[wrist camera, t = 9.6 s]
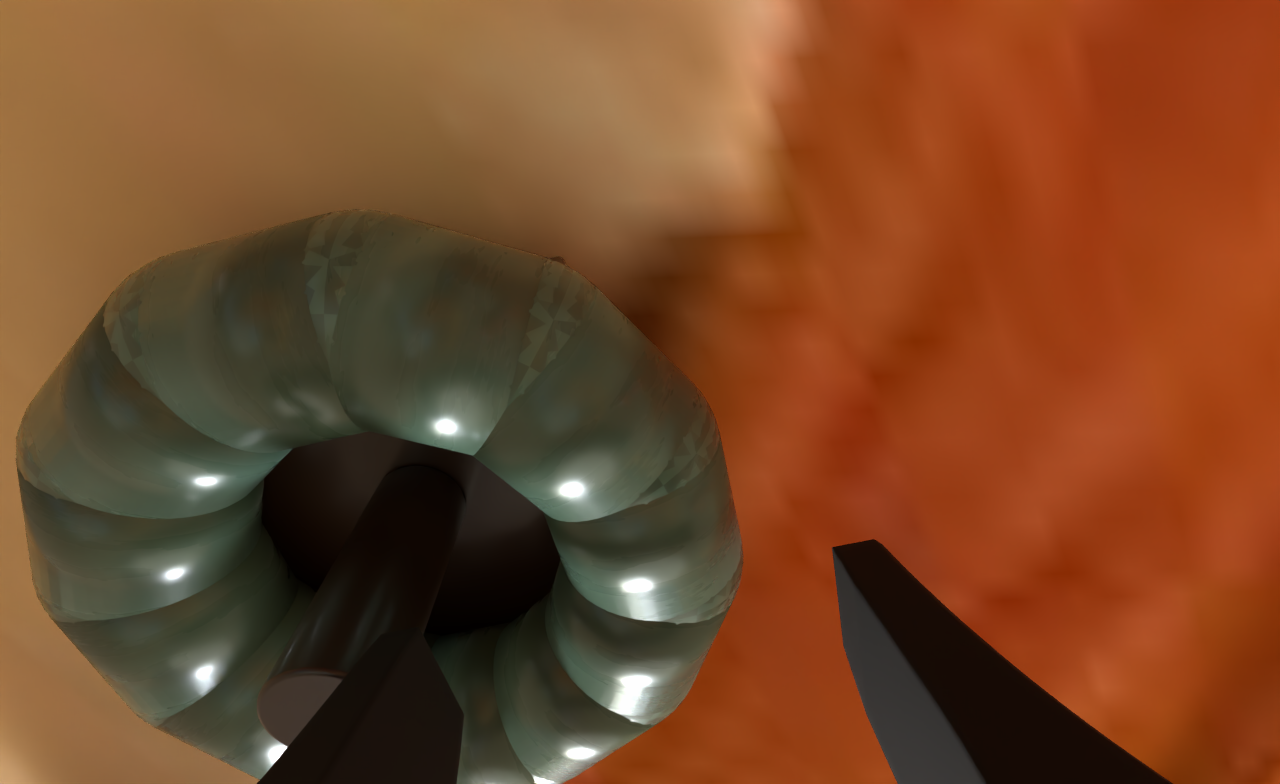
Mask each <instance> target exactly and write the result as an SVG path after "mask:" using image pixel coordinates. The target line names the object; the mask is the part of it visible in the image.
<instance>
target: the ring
mask: <svg viewBox="0 0 1280 784" xmlns="http://www.w3.org/2000/svg"><path fill="white" fill-rule="evenodd" d="M368 431H370V432H374V433H379V434H383V435H387V436H391V437H396V438H400V439H404V440H409V441H413V442H417V443H422V444H426V445H430V446H434V447H439V448H443V449H447V450H452V451H456V452H460V453H464V454H469V455H472V456H473V457H475V458H476V459H477V460H478V461H480V462H481V463H482V464H484V465H485V466H486V467H487V468H489V469H490V470H491V471H492V472H494V473H495V474H496V475H497V476H499V477H500V478H501V479H503V480H504V481H505V482H506V483H508V484H509V485H510V486H511V487H513V488H514V489H515V490H516V491H518V492H519V493H520V494H521V495H523V496H524V497H525V498H527V499H528V500H529V501H530V502H532V503H533V504H534V505H535V506H537V507H538V508H539V509H540V510H542V511H543V513H544V516H545V518H546V521H547V524H548V526H549V529H550V532H551V534H552V537H553V540H554V542H555V545H556V548H557V551H558V553H559V556H560V559H561V560H560V563H559V566H558V570H557V573H556V576H555V579H554V582H553V585H552V589H551V592H550V593H548V594H547V595H546V596H544V597H543V598H542V599H541V600H539V601H538V602H537V603H535V604H534V605H533V606H532V607H530V608H529V609H528V610H526V611H525V612H524V613H522V614H521V615H520V616H519V617H517V618H516V619H515V620H513V621H512V622H509V623H504V624H499V625H494V626H489V627H484V628H479V629H474V630H468V631H463V632H458V633H453V634H448V635H443V636H442V635H437V634H432V633H426V632H424V634H423V636H424V638H425V640H426V642H427V644H428V646H429V647H430V649H431V651H432V653H433V655H434V657H435V659H436V661H437V663H438V665H439V667H440V669H441V671H442V673H443V674H444V676H445V678H446V680H447V682H448V684H449V686H450V688H451V690H452V692H453V694H454V696H455V698H456V700H457V701H458V703H459V705H460V707H461V709H462V711H463V713H464V723H463V733H462V743H461V753H460V760H459V768H458V776H457V784H562V783H564V782H565V781H567V780H570V779H572V778H574V777H575V776H577V775H579V774H580V773H582V772H583V771H585V770H586V769H588V768H590V767H591V766H593V765H594V764H596V763H597V762H599V761H600V760H602V759H603V758H605V757H607V756H608V755H610V754H611V753H613V752H614V751H616V750H617V749H619V748H620V747H622V746H624V745H625V744H627V743H628V742H630V741H631V740H633V739H634V738H636V737H638V736H639V735H641V734H642V733H644V732H645V731H647V730H648V729H650V728H651V727H653V726H655V725H656V724H658V723H659V722H661V721H662V720H663V719H665V718H666V717H667V716H668V715H670V714H671V713H672V712H673V711H674V710H675V709H676V708H677V707H678V706H679V705H680V704H681V702H682V701H683V699H684V698H685V697H686V695H687V694H688V692H689V690H690V689H691V687H692V685H693V682H694V680H695V678H696V676H697V674H698V672H699V670H700V668H701V666H702V664H703V662H704V660H705V658H706V655H707V653H708V651H709V649H710V647H711V645H712V643H713V641H714V639H715V637H716V635H717V633H718V631H719V628H720V626H721V624H722V622H723V620H724V618H725V616H726V614H727V612H728V610H729V608H730V606H731V604H732V601H733V599H734V597H735V595H736V592H737V590H738V588H739V583H740V580H741V574H742V567H743V550H742V540H741V535H740V530H739V525H738V520H737V515H736V511H735V506H734V501H733V496H732V491H731V486H730V482H729V477H728V472H727V467H726V462H725V457H724V452H723V448H722V443H721V438H720V433H719V429H718V426H717V422H716V419H715V417H714V414H713V412H712V410H711V408H710V406H709V404H708V403H707V401H706V399H705V397H704V396H703V394H702V393H701V391H700V390H699V389H698V388H697V387H696V386H695V385H694V383H692V381H691V380H690V379H689V378H688V377H687V376H686V375H685V374H684V373H683V372H682V371H681V370H680V369H679V368H677V367H676V366H675V365H674V364H673V363H672V362H671V361H670V360H669V359H668V358H667V357H666V356H665V355H664V354H663V353H662V352H661V351H660V350H659V349H658V348H657V347H656V346H655V345H654V344H653V343H652V342H651V341H650V340H649V339H648V338H647V337H646V336H645V335H644V334H643V333H642V332H641V331H640V330H639V329H638V328H637V327H636V326H635V325H634V324H633V323H632V322H631V321H630V320H629V319H628V318H627V317H626V316H625V315H624V314H623V313H622V312H621V311H620V310H619V309H618V308H617V307H616V306H615V305H614V304H613V303H612V302H611V301H610V300H609V299H608V298H607V297H606V296H605V295H604V294H603V293H602V292H601V291H600V290H599V289H598V288H597V287H596V286H595V285H593V284H592V283H591V282H590V281H588V280H587V279H586V278H585V277H584V276H582V275H581V274H580V273H578V272H576V271H574V270H573V269H571V268H570V267H568V266H566V265H563V264H561V263H559V262H557V261H553V260H550V259H548V258H546V257H542V256H539V255H535V254H532V253H528V252H525V251H521V250H518V249H514V248H511V247H507V246H504V245H500V244H497V243H493V242H490V241H486V240H483V239H479V238H476V237H472V236H468V235H465V234H461V233H458V232H454V231H451V230H447V229H444V228H440V227H437V226H433V225H430V224H426V223H423V222H419V221H416V220H412V219H409V218H405V217H402V216H398V215H395V214H389V213H384V212H380V211H373V210H356V209H355V210H344V211H340V212H334V213H328V214H324V215H320V216H316V217H312V218H308V219H304V220H300V221H296V222H292V223H288V224H284V225H280V226H276V227H272V228H268V229H264V230H260V231H256V232H253V233H249V234H245V235H241V236H237V237H233V238H229V239H225V240H221V241H217V242H213V243H209V244H205V245H201V246H197V247H193V248H189V249H185V250H182V251H178V252H175V253H172V254H169V255H166V256H163V257H159V258H158V259H156V260H153V261H152V262H150V263H148V264H147V265H145V266H143V267H142V268H140V269H139V270H137V271H136V272H134V273H132V274H131V275H129V276H128V277H127V278H126V279H125V280H124V281H123V282H122V283H121V284H120V285H119V286H118V287H117V288H116V290H115V291H113V293H112V294H111V295H110V297H109V298H108V299H107V301H106V302H105V303H104V305H103V306H102V307H101V309H100V310H99V311H98V313H97V314H96V315H95V317H94V318H93V319H92V321H91V322H90V323H89V325H88V326H87V327H86V329H85V330H84V331H83V333H82V334H81V335H80V337H79V338H78V339H77V341H76V342H75V343H74V345H73V346H72V347H71V349H70V350H69V351H68V353H67V354H66V355H65V357H64V358H63V359H62V361H61V362H60V364H59V365H58V366H57V368H56V369H55V370H54V372H53V373H52V374H51V376H50V377H49V378H48V380H47V381H46V382H45V384H44V385H43V386H42V388H41V389H40V390H39V392H38V393H37V394H36V396H35V397H34V399H33V400H32V401H31V403H30V405H29V406H28V408H27V409H26V412H25V414H24V416H23V418H22V421H21V424H20V427H19V430H18V433H17V437H16V465H17V472H18V479H19V486H20V493H21V501H22V508H23V515H24V522H25V530H26V537H27V544H28V551H29V559H30V566H31V573H32V580H33V585H34V587H35V590H36V594H37V597H38V599H39V601H40V602H41V604H42V606H43V608H44V610H45V611H46V612H47V613H48V615H49V617H50V618H51V619H52V620H53V621H54V622H55V623H56V625H57V626H58V627H59V628H60V629H61V630H62V631H63V633H64V634H65V635H66V636H67V637H68V638H69V639H70V641H71V642H72V643H73V644H74V645H75V646H76V647H77V649H78V650H79V651H80V652H81V653H82V654H83V655H84V657H85V658H86V659H87V660H88V661H89V662H90V663H91V665H92V666H93V667H94V668H95V669H96V670H97V671H98V673H99V674H100V675H101V676H102V677H103V678H104V679H105V681H106V682H107V683H108V684H109V685H110V686H111V687H112V688H113V690H114V691H115V692H116V693H117V694H118V695H119V696H120V698H121V699H122V700H123V701H124V702H125V703H126V704H127V706H128V707H129V708H130V709H131V710H132V711H133V712H134V713H135V714H136V715H137V716H138V717H139V718H141V719H142V720H143V721H145V722H146V723H148V724H150V725H151V726H153V727H154V728H156V729H158V730H160V731H162V732H164V733H166V734H169V735H171V736H173V737H175V738H177V739H179V740H181V741H183V742H185V743H187V744H189V745H191V746H193V747H195V748H197V749H199V750H201V751H203V752H205V753H207V754H209V755H211V756H213V757H215V758H217V759H219V760H221V761H223V762H225V763H227V764H229V765H231V766H233V767H235V768H237V769H239V770H241V771H243V772H245V773H247V774H249V775H251V776H253V777H255V778H257V779H259V780H260V779H261V778H262V777H263V776H264V775H265V774H266V773H267V771H268V770H269V769H270V768H271V767H272V766H273V764H274V763H275V762H276V761H277V759H278V758H279V757H280V756H281V755H282V753H283V752H284V751H285V750H286V749H287V746H285V745H283V744H282V743H280V742H279V741H277V740H276V739H275V738H273V737H272V736H271V735H270V734H269V733H268V732H267V731H266V729H265V728H264V727H263V725H262V724H261V722H260V720H259V717H258V714H257V698H258V694H259V692H260V690H261V688H262V686H263V684H264V683H265V681H266V679H267V677H268V676H269V674H270V672H271V670H272V669H273V667H274V665H275V664H276V662H277V660H278V658H279V657H280V655H281V653H282V651H283V650H284V648H285V646H286V645H287V643H288V641H289V639H290V638H291V636H292V634H293V632H294V631H295V629H296V627H297V625H298V624H299V622H300V620H301V619H302V617H303V615H304V613H305V612H306V610H307V608H308V606H309V605H310V603H311V601H312V600H313V598H314V596H315V594H316V593H317V591H316V590H314V589H313V588H311V587H310V586H308V585H306V584H305V583H303V582H302V581H300V580H298V579H297V578H296V577H295V575H294V574H293V572H292V571H291V569H290V567H289V566H288V564H287V563H286V561H285V559H284V558H283V556H282V554H281V553H280V551H279V550H278V548H277V546H276V545H275V543H274V542H273V540H272V538H271V537H270V535H269V534H268V532H267V530H266V529H265V527H264V525H263V524H262V508H263V491H264V478H265V477H266V476H267V475H268V474H269V473H270V472H271V471H272V470H273V469H274V467H275V466H276V465H277V464H278V463H279V462H280V461H281V460H282V459H283V458H284V457H285V456H286V455H287V454H288V453H289V452H290V451H291V450H292V449H293V448H296V447H301V446H305V445H310V444H314V443H319V442H323V441H328V440H332V439H336V438H341V437H345V436H350V435H354V434H359V433H363V432H368Z"/></svg>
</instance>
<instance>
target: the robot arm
mask: <svg viewBox="0 0 1280 784" xmlns="http://www.w3.org/2000/svg"><path fill="white" fill-rule="evenodd" d="M832 551H833V559H834V568H835V576H836V585H837V594H838V602H839V611H840V619H841V628H842V637H843V645H844V649H845V652H846V655H847V658H848V661H849V664H850V667H851V670H852V673H853V676H854V679H855V682H856V685H857V688H858V691H859V694H860V696H861V699H862V702H863V705H864V708H865V711H866V714H867V716H868V719H869V721H870V723H871V725H872V728H873V730H874V732H875V734H876V737H877V739H878V741H879V743H880V745H881V748H882V750H883V752H884V754H885V757H886V759H887V761H888V763H889V765H890V768H891V770H892V772H893V774H894V776H895V779H896V781H897V783H898V784H1173V783H1171V782H1170V781H1168V780H1167V779H1165V778H1164V777H1162V776H1161V775H1159V774H1158V773H1156V772H1155V771H1154V770H1152V769H1151V768H1149V767H1148V766H1146V765H1145V764H1144V763H1142V762H1141V761H1139V760H1138V759H1136V758H1135V757H1134V756H1132V755H1131V754H1129V753H1128V752H1126V751H1125V750H1124V749H1122V748H1121V747H1119V746H1118V745H1117V744H1115V743H1114V742H1112V741H1111V740H1110V739H1108V738H1107V737H1105V736H1104V735H1103V734H1101V733H1100V732H1099V731H1097V730H1096V729H1095V728H1093V727H1092V726H1090V725H1089V724H1088V723H1086V722H1085V721H1084V720H1082V719H1081V718H1080V717H1079V716H1077V715H1076V714H1075V713H1073V712H1072V711H1071V710H1069V709H1068V708H1067V707H1065V706H1064V705H1063V704H1061V703H1060V702H1059V701H1058V700H1056V699H1055V698H1054V697H1053V696H1051V695H1050V694H1049V693H1047V692H1046V691H1045V690H1044V689H1042V688H1041V687H1040V686H1039V685H1037V684H1036V683H1035V682H1033V681H1032V680H1031V679H1030V678H1028V677H1027V676H1026V675H1025V674H1023V673H1022V672H1021V671H1020V670H1019V669H1017V668H1016V667H1015V666H1014V665H1013V664H1011V663H1010V662H1009V661H1008V660H1006V659H1005V658H1004V657H1003V656H1002V655H1000V654H999V653H998V652H997V651H996V650H995V649H993V648H992V647H991V646H990V645H989V644H988V643H987V642H985V641H984V640H983V639H982V638H981V637H980V636H978V635H977V634H976V633H975V632H974V631H973V630H971V629H970V628H969V627H968V626H967V625H966V624H965V623H963V622H962V621H961V620H960V619H959V618H958V617H957V616H956V615H954V614H953V613H952V612H951V611H950V610H949V609H948V608H947V607H946V606H945V605H943V604H942V603H941V602H940V601H939V600H938V599H937V598H936V597H935V596H934V595H933V594H932V593H931V592H930V591H928V590H927V589H926V588H925V587H924V586H923V585H922V584H921V583H920V582H919V581H918V580H917V579H916V578H915V577H914V576H913V575H912V574H911V573H910V572H909V571H908V570H907V569H906V568H905V567H904V566H903V565H902V564H901V563H900V562H899V561H898V560H897V559H896V558H895V557H894V556H893V555H892V554H891V553H890V552H889V551H888V550H887V549H886V548H885V547H884V546H883V545H882V544H881V543H879V542H878V541H876V540H874V539H873V540H868V541H863V542H857V543H852V544H847V545H842V546H837V547H832ZM463 723H464V713H463V711H462V709H461V707H460V705H459V703H458V701H457V700H456V698H455V696H454V694H453V692H452V690H451V688H450V686H449V684H448V682H447V680H446V678H445V676H444V674H443V673H442V671H441V669H440V667H439V665H438V663H437V661H436V659H435V657H434V655H433V653H432V651H431V649H430V647H429V646H428V644H427V642H426V640H425V638H424V636H423V634H422V632H421V630H420V628H419V627H415V628H410V629H405V630H400V631H395V632H389V633H384V634H381V635H380V636H379V637H378V638H377V640H376V641H375V642H374V643H373V644H372V645H371V646H370V648H369V649H368V650H367V651H366V652H365V653H364V655H363V656H362V657H361V658H360V659H359V661H358V662H357V663H356V664H355V666H354V667H353V668H352V669H351V670H350V672H349V673H348V674H347V675H346V677H345V678H344V679H343V680H342V681H341V683H340V684H339V685H338V686H337V688H336V689H335V690H334V691H333V693H332V694H331V695H330V696H329V697H328V699H327V700H326V701H325V702H324V704H323V705H322V706H321V707H320V709H319V710H318V711H317V712H316V713H315V715H314V716H313V717H312V718H311V720H310V721H309V722H308V723H307V724H306V726H305V727H304V728H303V729H302V730H301V732H300V733H299V734H298V735H297V736H296V738H295V739H294V740H293V741H292V743H291V744H290V745H289V746H288V747H287V749H286V750H285V751H284V752H283V753H282V755H281V756H280V757H279V758H278V759H277V761H276V762H275V763H274V764H273V766H272V767H271V768H270V769H269V770H268V771H267V773H266V774H265V775H264V776H263V777H262V778H261V779H260V781H259V782H258V783H257V784H457V776H458V768H459V760H460V753H461V743H462V733H463Z"/></svg>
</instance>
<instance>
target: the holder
mask: <svg viewBox="0 0 1280 784" xmlns="http://www.w3.org/2000/svg"><path fill="white" fill-rule="evenodd" d="M550 260H553V261H557V262H559V263H561V264H563V265H565V261H564V259H563V258H562V257H554V258H550ZM262 524H263V525H264V527H265V529H266V530H267V532H268V534H269V535H270V537H271V538H272V540H273V542H274V543H275V545H276V546H277V548H278V550H279V551H280V553H281V554H282V556H283V558H284V559H285V561H286V563H287V564H288V566H289V567H290V569H291V571H292V572H293V574H294V575H295V577H296V578H297V579H298V580H300V581H302V582H303V583H305V584H306V585H308V586H310V587H311V588H313V589H314V590H316V591H317V593H316V594H315V596H314V598H313V600H312V601H311V603H310V605H309V606H308V608H307V610H306V612H305V613H304V615H303V617H302V619H301V620H300V622H299V624H298V625H297V627H296V629H295V631H294V632H293V634H292V636H291V638H290V639H289V641H288V643H287V645H286V646H285V648H284V650H283V651H282V653H281V655H280V657H279V658H278V660H277V662H276V664H275V665H274V667H273V669H272V670H271V672H270V674H269V676H268V677H267V679H266V681H265V683H264V684H263V686H262V688H261V690H260V692H259V694H258V698H257V714H258V717H259V720H260V722H261V724H262V725H263V727H264V728H265V729H266V731H267V732H268V733H269V734H270V735H271V736H272V737H273V738H275V739H276V740H277V741H279V742H280V743H282V744H283V745H285V746H287V747H288V746H289V745H290V744H291V743H292V741H293V740H294V739H295V738H296V736H297V735H298V734H299V733H300V732H301V730H302V729H303V728H304V727H305V726H306V724H307V723H308V722H309V721H310V720H311V718H312V717H313V716H314V715H315V713H316V712H317V711H318V710H319V709H320V707H321V706H322V705H323V704H324V702H325V701H326V700H327V699H328V697H329V696H330V695H331V694H332V693H333V691H334V690H335V689H336V688H337V686H338V685H339V684H340V683H341V681H342V680H343V679H344V678H345V677H346V675H347V674H348V673H349V672H350V670H351V669H352V668H353V667H354V666H355V664H356V663H357V662H358V661H359V659H360V658H361V657H362V656H363V655H364V653H365V652H366V651H367V650H368V649H369V648H370V646H371V645H372V644H373V643H374V642H375V641H376V640H377V638H378V637H379V636H380V635H381V634H384V633H389V632H395V631H400V630H405V629H410V628H415V627H419V628H420V630H421V632H422V634H424V632H426V633H432V634H437V635H442V636H443V635H448V634H453V633H458V632H463V631H468V630H474V629H479V628H484V627H489V626H494V625H499V624H504V623H509V622H512V621H513V620H515V619H516V618H517V617H519V616H520V615H521V614H522V613H524V612H525V611H526V610H528V609H529V608H530V607H532V606H533V605H534V604H535V603H537V602H538V601H539V600H541V599H542V598H543V597H544V596H546V595H547V594H548V593H550V592H551V589H552V585H553V582H554V579H555V576H556V573H557V570H558V566H559V563H560V560H561V559H560V556H559V553H558V551H557V548H556V545H555V542H554V540H553V537H552V534H551V532H550V529H549V526H548V524H547V521H546V518H545V516H544V513H543V511H542V510H540V509H539V508H538V507H537V506H535V505H534V504H533V503H532V502H530V501H529V500H528V499H527V498H525V497H524V496H523V495H521V494H520V493H519V492H518V491H516V490H515V489H514V488H513V487H511V486H510V485H509V484H508V483H506V482H505V481H504V480H503V479H501V478H500V477H499V476H497V475H496V474H495V473H494V472H492V471H491V470H490V469H489V468H487V467H486V466H485V465H484V464H482V463H481V462H480V461H478V460H477V459H476V458H475V457H473V456H472V455H469V454H464V453H460V452H456V451H452V450H447V449H443V448H439V447H434V446H430V445H426V444H422V443H417V442H413V441H409V440H404V439H400V438H396V437H391V436H387V435H383V434H379V433H374V432H370V431H368V432H363V433H359V434H354V435H350V436H345V437H341V438H336V439H332V440H328V441H323V442H319V443H314V444H310V445H305V446H301V447H296V448H293V449H292V450H291V451H290V452H289V453H288V454H287V455H286V456H285V457H284V458H283V459H282V460H281V461H280V462H279V463H278V464H277V465H276V466H275V467H274V469H273V470H272V471H271V472H270V473H269V474H268V475H267V476H266V477H265V478H264V491H263V508H262Z"/></svg>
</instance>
